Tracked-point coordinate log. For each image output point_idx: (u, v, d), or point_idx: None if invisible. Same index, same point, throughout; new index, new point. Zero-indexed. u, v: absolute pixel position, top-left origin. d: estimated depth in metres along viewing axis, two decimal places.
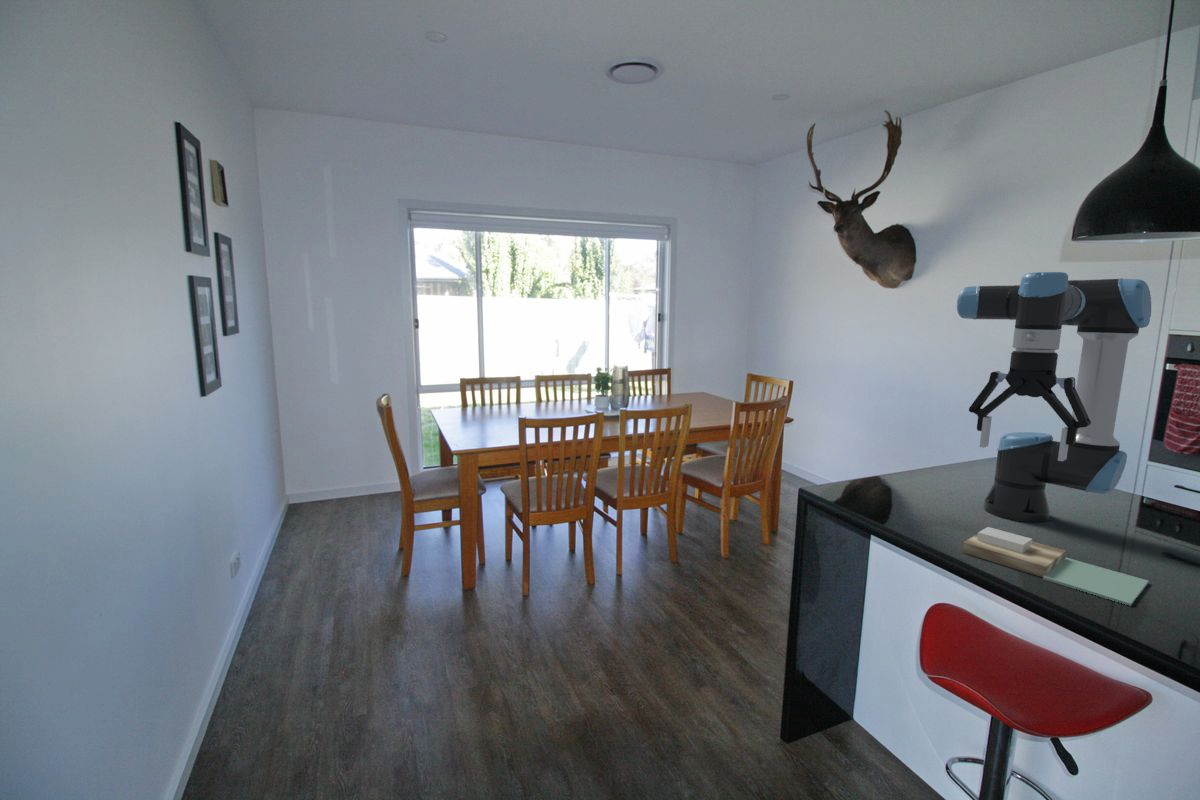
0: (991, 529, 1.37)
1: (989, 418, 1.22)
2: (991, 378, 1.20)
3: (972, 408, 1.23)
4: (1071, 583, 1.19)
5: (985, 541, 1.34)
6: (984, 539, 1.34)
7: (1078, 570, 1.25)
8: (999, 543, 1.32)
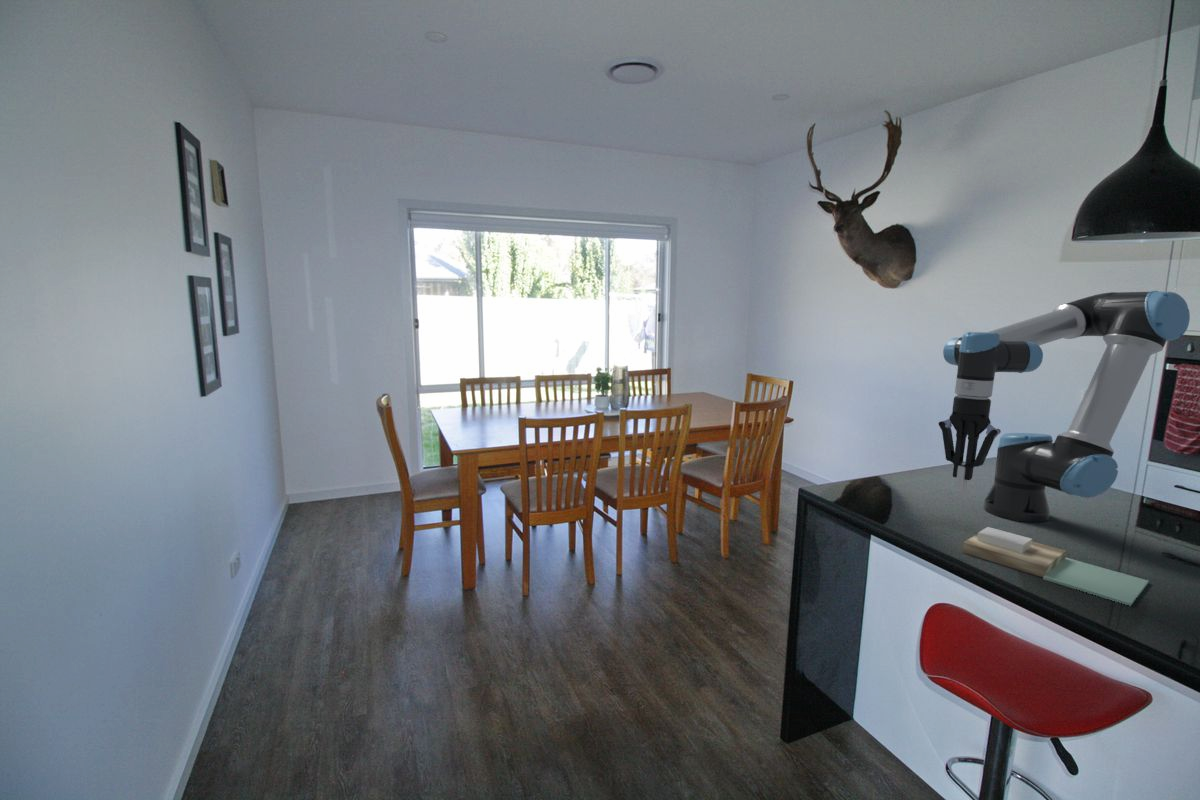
0: (991, 529, 1.37)
1: None
2: (941, 427, 1.41)
3: (948, 457, 1.40)
4: (1071, 583, 1.19)
5: (985, 541, 1.34)
6: (984, 539, 1.34)
7: (1078, 570, 1.25)
8: (999, 543, 1.32)
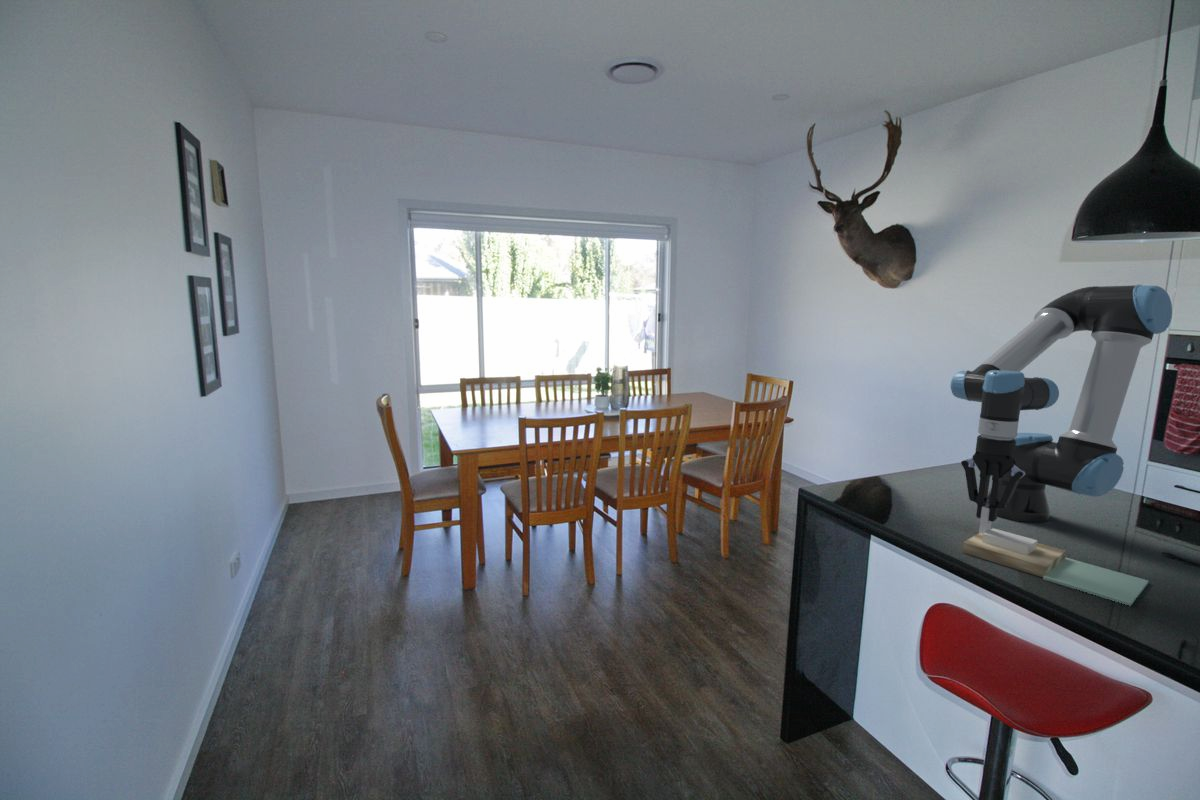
0: (996, 530, 1.36)
1: None
2: (964, 466, 1.38)
3: (971, 497, 1.37)
4: (1071, 583, 1.19)
5: (990, 542, 1.33)
6: (989, 540, 1.34)
7: (1078, 570, 1.25)
8: (1004, 544, 1.31)
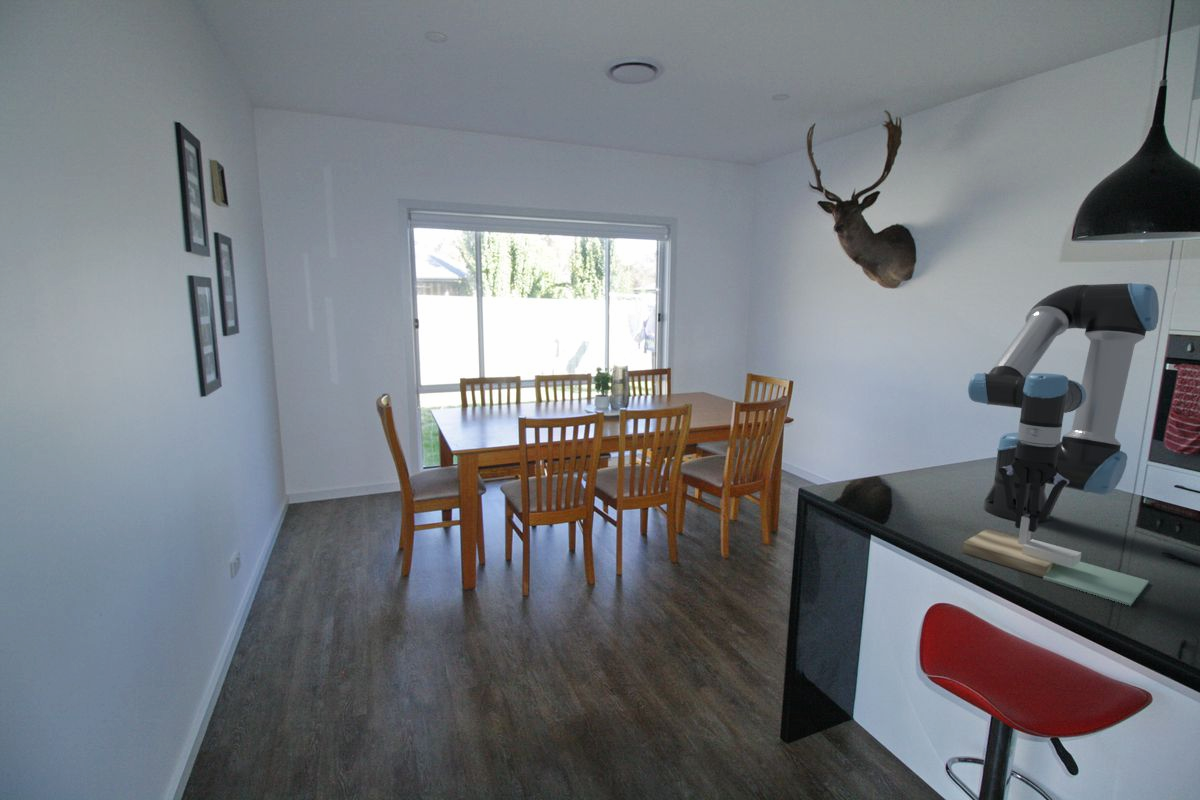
0: (1036, 542, 1.30)
1: None
2: (1002, 474, 1.32)
3: (1010, 506, 1.31)
4: (1071, 583, 1.19)
5: (1030, 554, 1.27)
6: (1029, 552, 1.27)
7: (1078, 570, 1.25)
8: (1046, 557, 1.25)
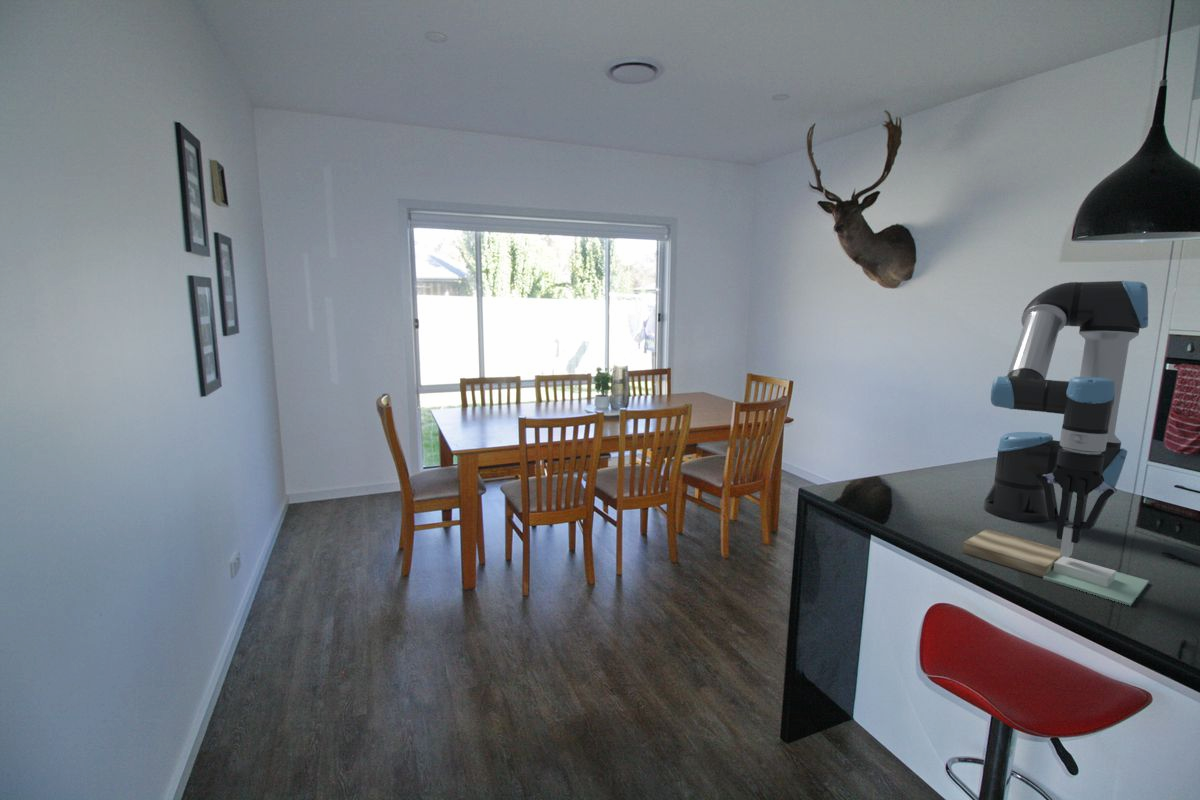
0: (1068, 559, 1.26)
1: None
2: (1043, 482, 1.26)
3: (1051, 516, 1.25)
4: (1071, 583, 1.19)
5: (1063, 572, 1.23)
6: (1061, 570, 1.23)
7: None
8: (1079, 575, 1.20)
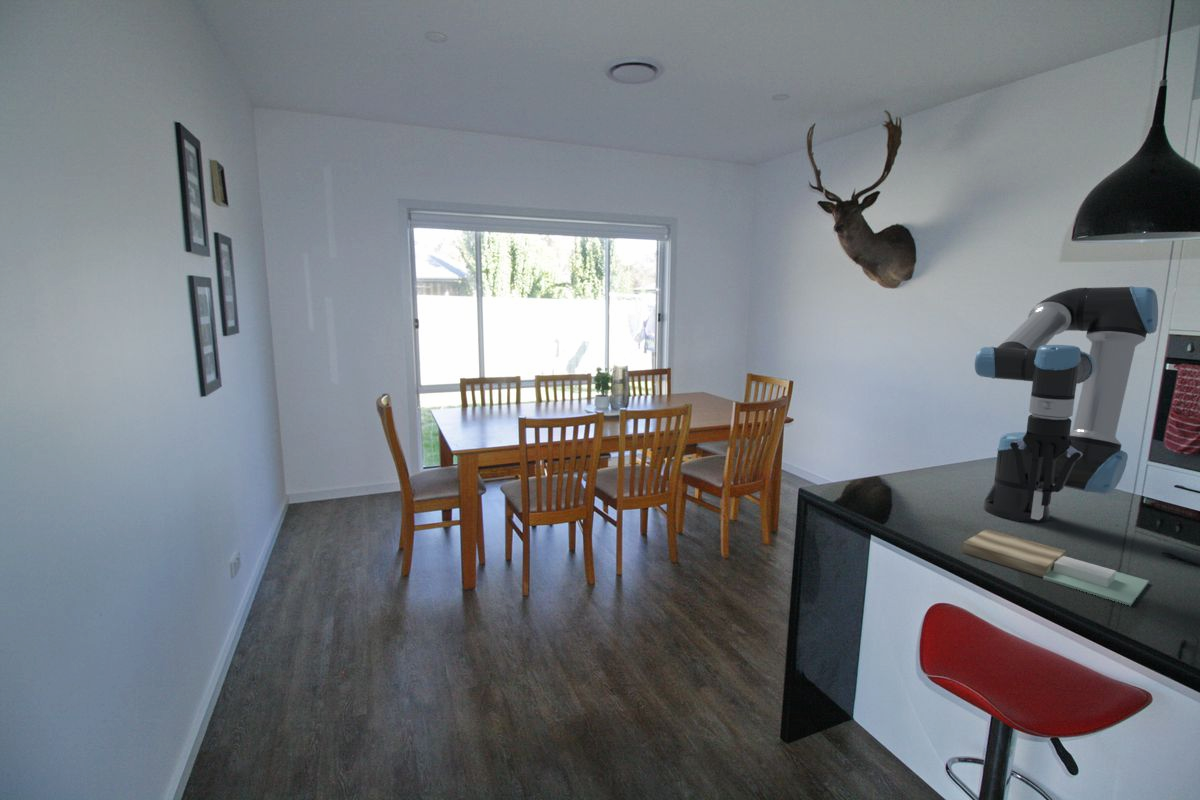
0: (1068, 559, 1.26)
1: None
2: (1014, 449, 1.30)
3: (1022, 481, 1.29)
4: (1071, 583, 1.19)
5: (1063, 572, 1.23)
6: (1061, 570, 1.23)
7: None
8: (1079, 575, 1.20)
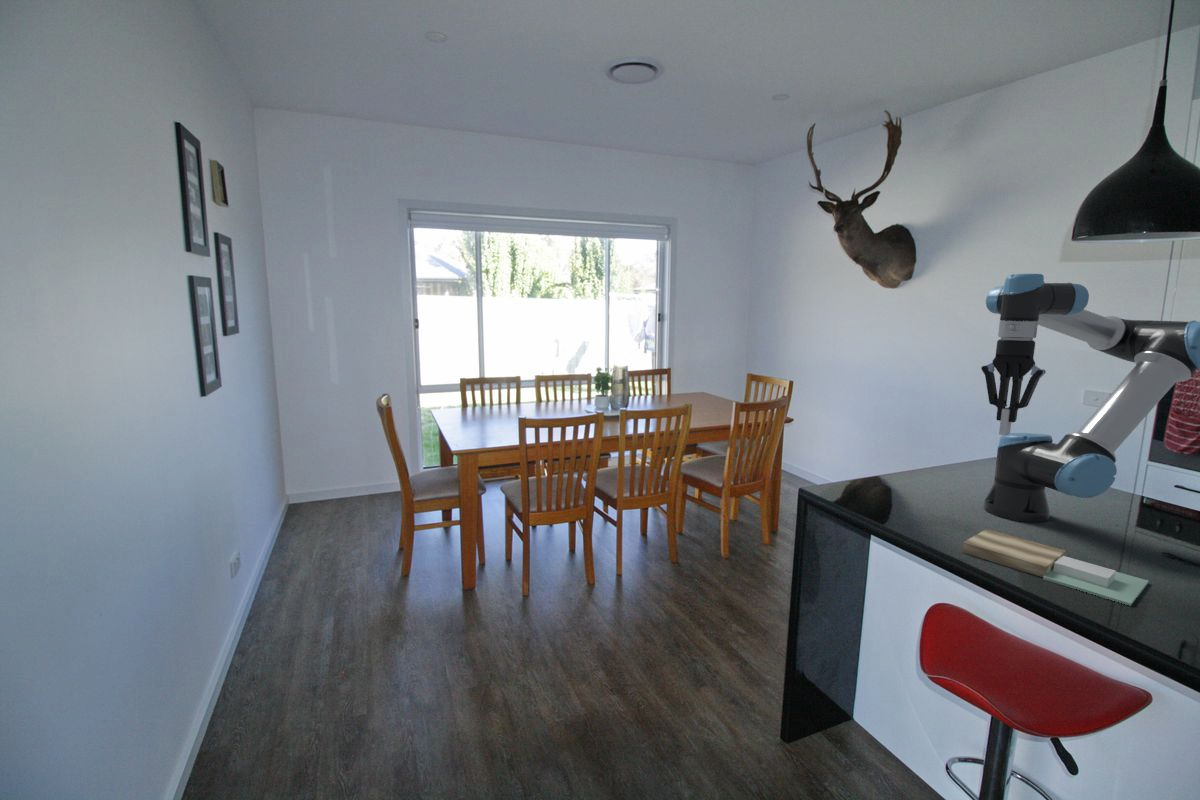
0: (1068, 559, 1.26)
1: None
2: (984, 371, 1.42)
3: (991, 400, 1.42)
4: (1071, 583, 1.19)
5: (1063, 572, 1.23)
6: (1061, 570, 1.23)
7: None
8: (1079, 575, 1.20)
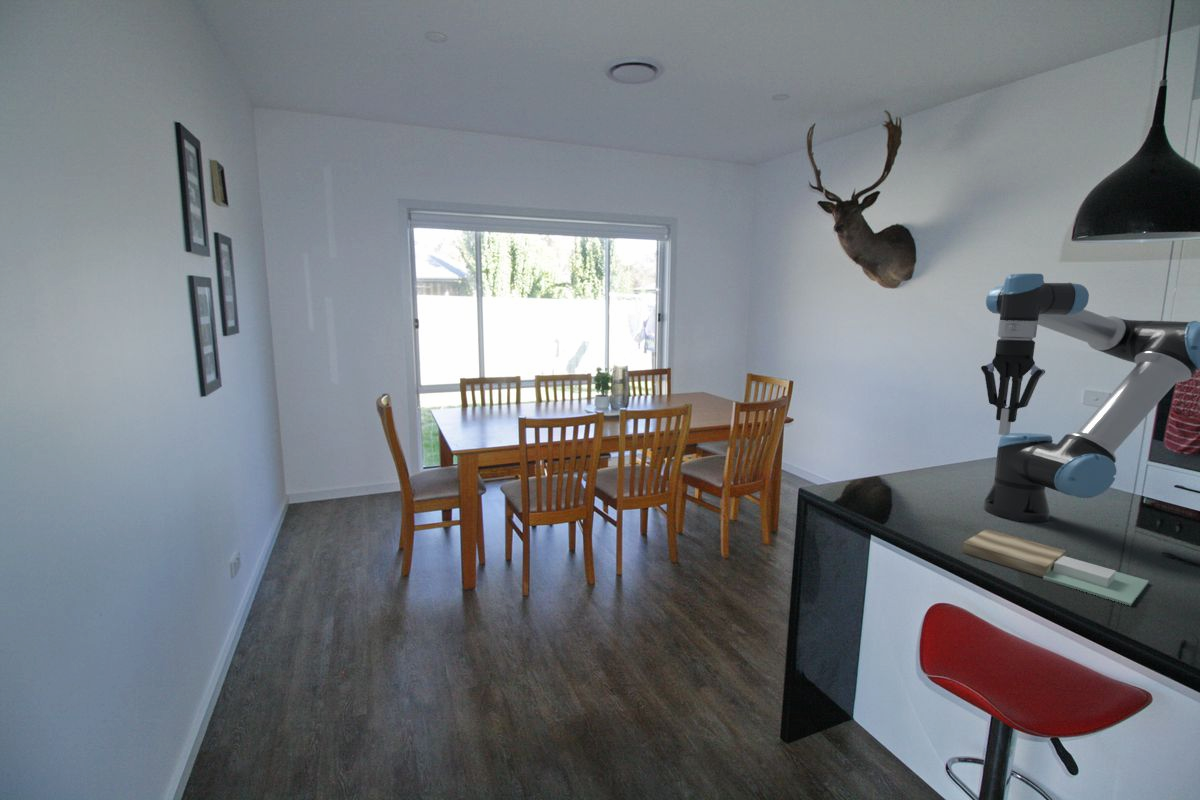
0: (1068, 559, 1.26)
1: None
2: (984, 371, 1.42)
3: (991, 400, 1.42)
4: (1071, 583, 1.19)
5: (1063, 572, 1.23)
6: (1061, 570, 1.23)
7: None
8: (1079, 575, 1.20)
